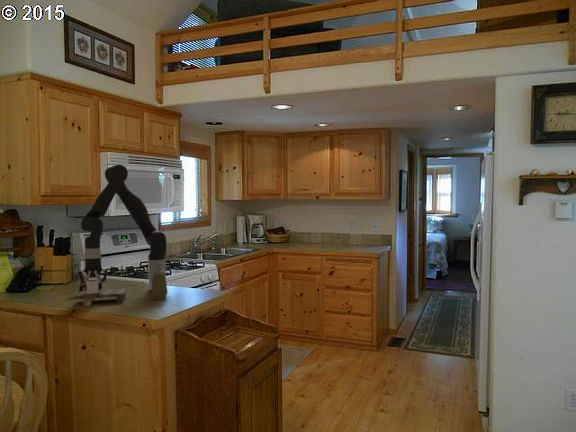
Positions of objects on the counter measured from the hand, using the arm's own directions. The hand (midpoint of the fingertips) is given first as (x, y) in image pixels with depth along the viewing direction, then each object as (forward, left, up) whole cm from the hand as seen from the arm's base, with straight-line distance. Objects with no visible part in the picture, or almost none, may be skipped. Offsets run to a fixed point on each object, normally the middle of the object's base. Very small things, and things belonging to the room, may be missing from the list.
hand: (93, 290), depth 220 cm
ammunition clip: (+6, -22, -6) cm, 24 cm away
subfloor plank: (-4, 0, -6) cm, 7 cm away
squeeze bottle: (-32, +4, -6) cm, 33 cm away
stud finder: (0, 0, -1) cm, 1 cm away
